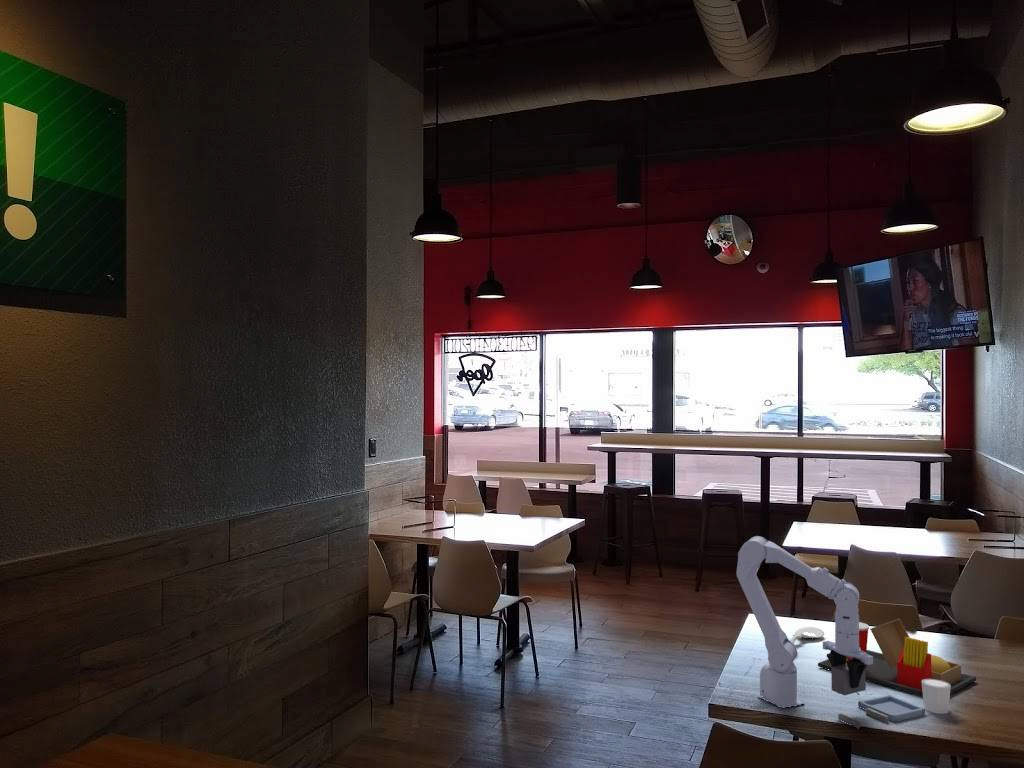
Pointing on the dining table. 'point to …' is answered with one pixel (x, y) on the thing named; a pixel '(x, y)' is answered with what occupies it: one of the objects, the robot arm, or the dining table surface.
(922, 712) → the tray
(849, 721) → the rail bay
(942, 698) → the white cup
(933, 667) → the fast food meal
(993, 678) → the dining table surface
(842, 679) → the grey bar
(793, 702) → the robot arm
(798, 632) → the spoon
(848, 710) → the dining table surface
